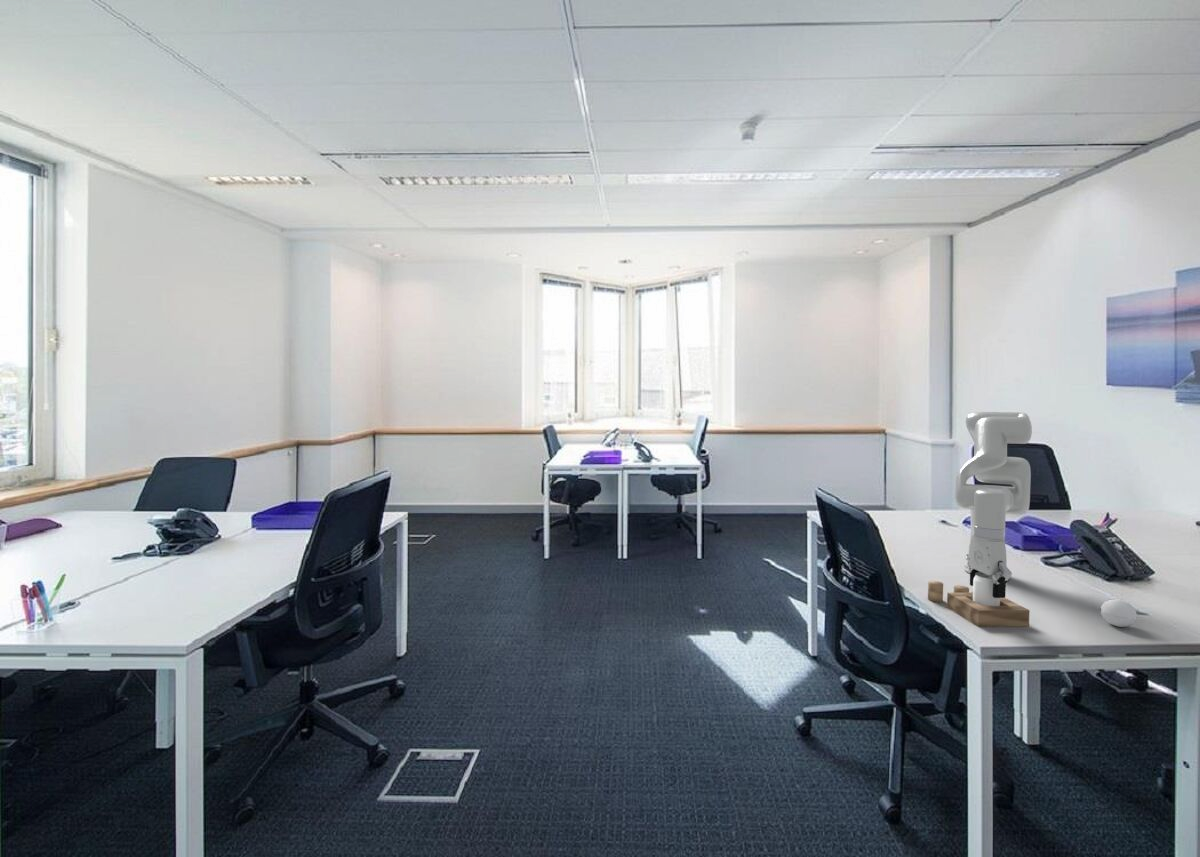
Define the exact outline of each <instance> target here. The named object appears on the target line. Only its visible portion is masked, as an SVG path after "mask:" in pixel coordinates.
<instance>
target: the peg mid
mask: <svg viewBox="0 0 1200 857" xmlns="http://www.w3.org/2000/svg"><path fill="white" fill-rule="evenodd" d="M927 582H928V583H927V584H928V586H927V600H928V601H930V602H933V603H942V602H944V599H943V598H944V583H943V582H941V581H937V580H929V581H927Z"/></svg>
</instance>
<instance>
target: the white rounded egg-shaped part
mask: <svg viewBox="0 0 1200 857" xmlns="http://www.w3.org/2000/svg"><path fill="white" fill-rule="evenodd" d="M1100 615H1101V616H1102V618H1103V619H1104V620H1105V621H1106V622H1107V623H1109V624H1111V625H1113V626H1114V627H1120V628H1124V627H1130V626H1132V625H1133V624H1134V623H1135V622H1136V621H1137V618H1138V616H1137V611H1136V609H1135V608H1134V606H1133V605H1132V604H1130V602H1127V601H1125V600H1124V599H1118V598H1112V599H1108V600H1105V601H1104V602H1103V604H1101V607H1100Z"/></svg>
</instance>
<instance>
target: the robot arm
mask: <svg viewBox="0 0 1200 857" xmlns="http://www.w3.org/2000/svg"><path fill="white" fill-rule="evenodd" d="M965 424H966V428H967V431H968V433H969V434H970V437H971V439H972V440H973V443H974V444H973V457H972V458H970V459H969V460H967V461H966V462H965V463H963V465H962V466H961V467H960V469H959V470H958V472H957V475H956V476H955V477H956V478H955V490H954V499H955V503H956V505H957V506H959V508H962V509H965V510H969V511H970V534H969V535H970V537H969V539H970V540H969V541H970V542H969V546H968V553H967V554H966V555H965V560H966V561H967V564H966V565H965V566H964V568H963V569H964V571H965V572H966V573H968V574H969V585H970V586H971V587H973V579H974V577H975V573H977V572H981V573H984V574H986V575H992V577H993V580H994V582H995V583H993V597H994V598H1006V590H1007V589H1006V587H1007V585H1008V582H1009V581H1010V580H1011V579H1010V578H1011V577H1012V571H1011V570H1010V569H1009V568H1008V567H1007V562H1008V561H1007V549H1006V541H1005V539H1006V515H1007V514H1008V515H1016V516H1017V515H1019V516H1023V515H1025V514H1027V513H1028V512H1029V509H1030V503H1031V478H1032V473H1031V464H1030V462H1029V461H1028V460H1027V459H1025V458H1023V457H1018V456H1017V457H1016V456H1008V444H1016V445H1017V444H1019V445H1020V444H1021V445H1023V444H1024V445H1025V444H1028V443H1029V442H1030V441H1031V439H1032V433H1033V431H1032V430H1033V429H1032V428H1033V427H1032V422H1031V420H1030V416H1029V415H1028V414H1027V413H1025V412H1019V411H1018V412H1013V411H1010V412H1009V411H1007V412H1006V411H1002V412H1001V411H1000V412H999V411H998V412H997V411H980V412H976V411H975V412H971V413H969V414H968V415H967V416H966V418H965ZM973 476H974V477H975V479H976V480H977V481H978V482H981V483H986V484H970V483H967V481H968V480H969V479H970V478H971V477H973ZM987 484H989V485H987ZM990 484H997V485H990ZM998 484H999V485H998ZM1000 484H1001V485H1000ZM1004 485H1005V486H1004ZM1006 485H1011V486H1006ZM997 576H999V579H998V578H997Z"/></svg>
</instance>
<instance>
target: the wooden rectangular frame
mask: <svg viewBox="0 0 1200 857" xmlns="http://www.w3.org/2000/svg"><path fill="white" fill-rule="evenodd" d="M946 600H947V601H946V608H948V609H949V610H951V611H952V612H954V613H956V614H958V616H961V617H962V618H964V619H965V620H967V621H969V622H970V623H972V624H973V625H975V626H977V627H1029V626H1030V612H1031V611H1030V610H1029V609H1028V608H1026V607H1024V606H1022V605H1020V604H1018V603H1016V602H1014V601H1012V600H1010V599H1008V598H1007V597H1005V598H1000V606H981V605H979V604H978V603H976V602H974V601H973V591H972V592H969V593H954V592H947V598H946Z"/></svg>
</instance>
